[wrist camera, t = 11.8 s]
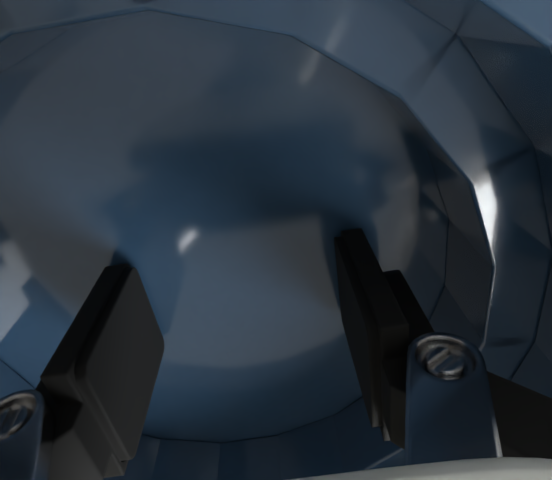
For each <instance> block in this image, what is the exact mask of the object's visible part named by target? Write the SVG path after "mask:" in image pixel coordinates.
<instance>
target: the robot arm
mask: <svg viewBox="0 0 552 480" xmlns="http://www.w3.org/2000/svg"><path fill="white" fill-rule="evenodd" d="M334 244H335V255H336V266H337V277H338V288H339V299H340V310H341V318H342V323H343V327H344V331H345V334H346V338H347V342H348V345H349V349H350V352H351V356H352V360H353V363H354V367H355V370H356V374H357V378H358V381H359V385H360V389H361V392H362V396H363V399H364V403H365V407H366V410H367V414H368V417H369V421H370V424H371V427H372V428H373V427H380V430H381V433H382V437H383V440H384V441H390V440H391V442H392V443H394V444H396V445H397V446H399V447H400V448H402V449H404V450H405V461H404V466H397V467H388V468H378V469H370V470H362V471H354V472H346V473H338V474H330V475H322V476H314V477H306V478H298V479H289V480H552V398H550V397H548V396H545V395H543V394H540V393H538V392H536V391H533V390H531V389H529V388H526V387H524V386H521V385H519V384H517V383H514V382H512V381H509V380H507V379H505V378H502V377H500V376H498V375H495V374H493V373H490V372H488V371H487V369H486V364H485V360H484V357H483V355H482V353H481V351H480V350H479V349H478V348H477V347H476V346H475V345H474V344H473V343H471V342H470V341H468V340H467V339H465V338H463V337H460V336H458V335H455V334H451V333H445V332H435V331H434V330H433V328H432V326H431V324H430V322H429V321H428V319H427V317H426V315H425V314H424V312H423V310H422V308H421V306H420V305H419V303H418V301H417V299H416V297H415V296H414V294H413V292H412V290H411V288H410V287H409V285H408V283H407V281H406V279H405V278H404V276H403V274H402V273H401V271H400V270H392V271H385V272H383V271H382V269H381V267H380V265H379V263H378V261H377V259H376V257H375V255H374V252H373V250H372V248H371V246H370V244H369V242H368V240H367V238H366V236H365V234H364V232H363V230H362V228H358V229H351V230H345V231H341V236H339V237H334ZM163 353H164V339H163V336H162V333H161V331H160V328H159V325H158V323H157V320H156V318H155V315H154V312H153V310H152V307H151V304H150V302H149V299H148V296H147V294H146V291H145V289H144V286H143V283H142V281H141V278H140V275H139V273H138V271H137V269H136V268H135V267H133V268H131V267H130V266H129V264H127V263H126V264H119V265H112V266H107V267H105V268H104V270H103V271H102V273H101V275H100V276H99V278H98V280H97V281H96V283H95V285H94V287H93V288H92V290H91V292H90V293H89V295H88V297H87V298H86V300H85V302H84V303H83V305H82V307H81V308H80V310H79V312H78V313H77V315H76V317H75V319H74V320H73V322H72V324H71V325H70V327H69V329H68V330H67V332H66V334H65V335H64V337H63V339H62V340H61V342H60V344H59V346H58V347H57V349H56V351H55V352H54V354H53V356H52V357H51V359H50V361H49V362H48V364H47V366H46V367H45V369H44V371H43V372H42V374H41V376H40V378H41V380H40V382H39V384H38V385H37V387H36V389H35V390H34V389H28V390H21V391H17V392H13V393H11V394H9V395H7V396H5V397H2V398H1V399H0V480H103V479H104V478H108V477H115V476H123V475H125V471H126V468H127V464H128V461H129V460H132V459H133V458H134V457H135V455H136V452H137V448H138V445H139V441H140V437H141V434H142V430H143V426H144V423H145V419H146V415H147V412H148V408H149V404H150V401H151V397H152V393H153V390H154V386H155V382H156V379H157V375H158V371H159V368H160V364H161V360H162V357H163Z"/></svg>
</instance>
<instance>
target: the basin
mask: <svg viewBox="0 0 552 480" xmlns="http://www.w3.org/2000/svg"><path fill="white" fill-rule="evenodd" d="M358 228H362V230H363V232H364V234H365V236H366V238H367V240H368V242H369V244H370V246H371V248H372V250H373V252H374V255H375V257H376V259H377V261H378V263H379V265H380V267H381V269H382V271H383V272H385V271H392V270H400V271H401V273H402V274H403V276H404V278H405V279H406V281H407V283H408V285H409V287H410V288H411V290H412V292H413V294H414V296H415V297H416V299H417V301H418V303H419V305H420V306H421V308H422V310H423V312H424V314H425V315H426V317H427V319H428V321H429V322H430V324H431V326H432V328H433V330H434V331H435V332H445V333H451V334H455V335H458V336H460V337H463V338H465V339H467V340H468V341H470V342H471V343H473V344H474V345H475V346H476V347H477V348H478V349H479V350H480V351H481V353H482V355H483V357H484V360H485V364H486V369H487V371H488V372H490V373H493V374H495V375H498V376H500V377H502V378H505V379H507V380H509V381H512V382H514V383H517V384H519V385H521V386H524V387H526V388H529V389H531V390H533V391H536V392H538V393H540V394H543V395H545V396H548V397H550V398H552V0H0V399H1V398H2V397H5V396H7V395H9V394H11V393H13V392H17V391H21V390H28V389H34V390H35V389H36V387H37V385H38V384H39V382H40V380H41V378H40V376H41V374H42V372H43V371H44V369H45V367H46V366H47V364H48V362H49V361H50V359H51V357H52V356H53V354H54V352H55V351H56V349H57V347H58V346H59V344H60V342H61V340H62V339H63V337H64V335H65V334H66V332H67V330H68V329H69V327H70V325H71V324H72V322H73V320H74V319H75V317H76V315H77V313H78V312H79V310H80V308H81V307H82V305H83V303H84V302H85V300H86V298H87V297H88V295H89V293H90V292H91V290H92V288H93V287H94V285H95V283H96V281H97V280H98V278H99V276H100V275H101V273H102V271H103V270H104V268H105V267H107V266H112V265H119V264H126V263H127V264H129V266H130V267H131V268H133V267H135V268H136V269H137V271H138V273H139V275H140V278H141V281H142V283H143V286H144V289H145V291H146V294H147V296H148V299H149V302H150V304H151V307H152V310H153V312H154V315H155V318H156V320H157V323H158V325H159V328H160V331H161V333H162V336H163V339H164V353H163V357H162V360H161V364H160V368H159V371H158V375H157V379H156V382H155V386H154V390H153V393H152V397H151V401H150V404H149V408H148V412H147V415H146V419H145V423H144V426H143V430H142V434H141V437H140V441H139V445H138V448H137V452H136V455H135V457H134V458H133V459H132V460H129V461H128V464H127V468H126V471H125V475H123V476H115V477H108V478H104V479H103V480H289V479H298V478H306V477H314V476H322V475H330V474H338V473H346V472H354V471H362V470H370V469H378V468H388V467H397V466H404V461H405V450H404V449H402V448H400V447H399V446H397V445H396V444H394V443H392V442H391V440H390V441H384V440H383V437H382V433H381V430H380V427H373V428H372V427H371V424H370V421H369V417H368V414H367V410H366V407H365V403H364V399H363V396H362V392H361V389H360V385H359V381H358V378H357V374H356V370H355V367H354V363H353V360H352V356H351V352H350V349H349V345H348V342H347V338H346V334H345V331H344V327H343V323H342V318H341V310H340V299H339V288H338V277H337V266H336V255H335V244H334V237H339V236H341V231H345V230H351V229H358Z"/></svg>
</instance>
